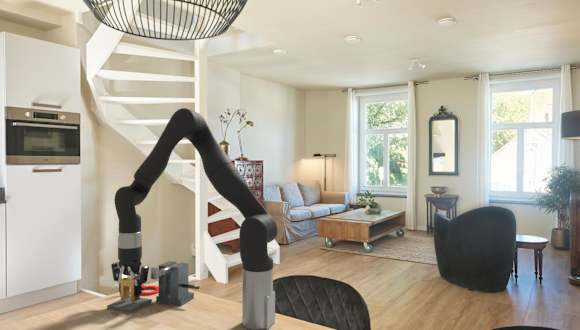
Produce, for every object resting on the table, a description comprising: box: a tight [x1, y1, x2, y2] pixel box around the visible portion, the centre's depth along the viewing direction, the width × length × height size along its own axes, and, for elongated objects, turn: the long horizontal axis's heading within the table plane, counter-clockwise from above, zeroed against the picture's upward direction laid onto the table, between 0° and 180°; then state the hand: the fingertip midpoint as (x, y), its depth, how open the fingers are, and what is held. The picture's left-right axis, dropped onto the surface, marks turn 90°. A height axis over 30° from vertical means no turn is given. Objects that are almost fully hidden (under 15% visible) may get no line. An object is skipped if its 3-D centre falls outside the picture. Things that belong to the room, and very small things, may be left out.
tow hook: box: [140, 272, 159, 296], centre depth 152 cm, size 8×13×9 cm
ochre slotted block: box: [120, 276, 141, 302], centre depth 138 cm, size 5×3×7 cm, turn 71°
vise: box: [150, 260, 200, 307], centre depth 139 cm, size 15×16×14 cm
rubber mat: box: [106, 295, 153, 314], centre depth 138 cm, size 10×10×1 cm
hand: (130, 294), depth 138 cm, fingers closed on ochre slotted block, 5 cm apart
